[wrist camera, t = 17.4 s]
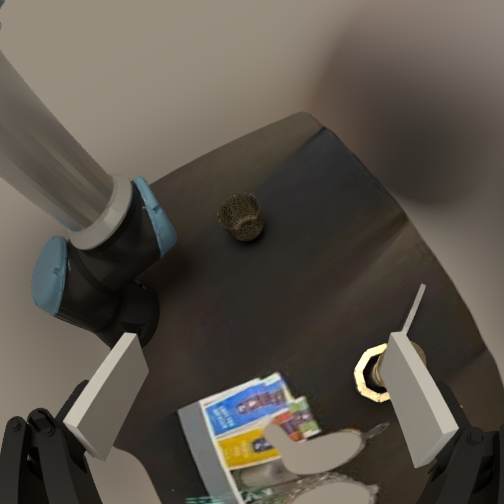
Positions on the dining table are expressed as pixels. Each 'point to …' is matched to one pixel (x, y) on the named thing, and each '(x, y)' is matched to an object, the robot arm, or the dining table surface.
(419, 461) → the robot arm
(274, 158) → the dining table surface
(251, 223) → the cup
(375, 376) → the hinge pin
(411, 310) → the ring holder
